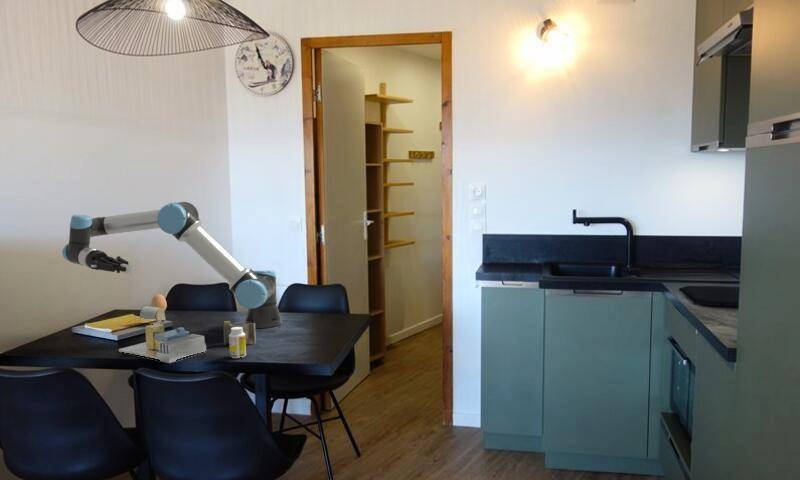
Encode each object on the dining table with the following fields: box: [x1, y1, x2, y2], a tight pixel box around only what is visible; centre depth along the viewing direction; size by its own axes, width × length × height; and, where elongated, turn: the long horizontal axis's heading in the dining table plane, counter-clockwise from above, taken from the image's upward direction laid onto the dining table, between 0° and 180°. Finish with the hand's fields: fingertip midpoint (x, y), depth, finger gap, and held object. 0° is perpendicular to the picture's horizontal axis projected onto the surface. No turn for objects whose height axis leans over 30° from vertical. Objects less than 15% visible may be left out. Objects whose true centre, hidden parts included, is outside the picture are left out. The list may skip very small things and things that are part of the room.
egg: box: [150, 293, 168, 312], centre depth 302 cm, size 7×7×9 cm
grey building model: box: [118, 326, 207, 364], centre depth 238 cm, size 28×16×8 cm, turn 57°
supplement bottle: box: [228, 327, 247, 359], centre depth 230 cm, size 6×6×10 cm
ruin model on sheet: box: [222, 320, 257, 346], centre depth 248 cm, size 11×3×10 cm, turn 96°
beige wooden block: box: [144, 323, 166, 350], centre depth 238 cm, size 11×5×8 cm, turn 57°
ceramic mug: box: [139, 305, 166, 321], centre depth 283 cm, size 11×8×8 cm
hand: (133, 270), depth 248 cm, fingers closed
